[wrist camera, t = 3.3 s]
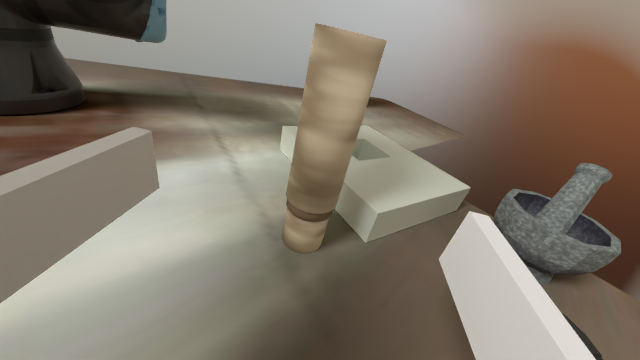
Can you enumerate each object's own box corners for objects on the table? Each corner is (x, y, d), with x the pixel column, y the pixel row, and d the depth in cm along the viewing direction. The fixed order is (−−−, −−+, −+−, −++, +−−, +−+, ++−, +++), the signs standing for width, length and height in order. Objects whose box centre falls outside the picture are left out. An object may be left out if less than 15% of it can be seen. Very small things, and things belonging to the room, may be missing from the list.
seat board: (279, 148, 41) (282, 125, 39) (360, 144, 51) (366, 125, 49) (365, 242, 26) (377, 213, 24) (456, 210, 36) (470, 187, 34)
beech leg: (271, 227, 25) (302, 20, 16) (310, 218, 28) (356, 34, 19) (291, 261, 22) (344, 29, 13) (333, 247, 25) (401, 44, 16)
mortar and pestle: (561, 318, 23) (683, 220, 17) (463, 250, 29) (528, 157, 22) (573, 267, 30) (662, 185, 24) (493, 220, 36) (549, 144, 30)
